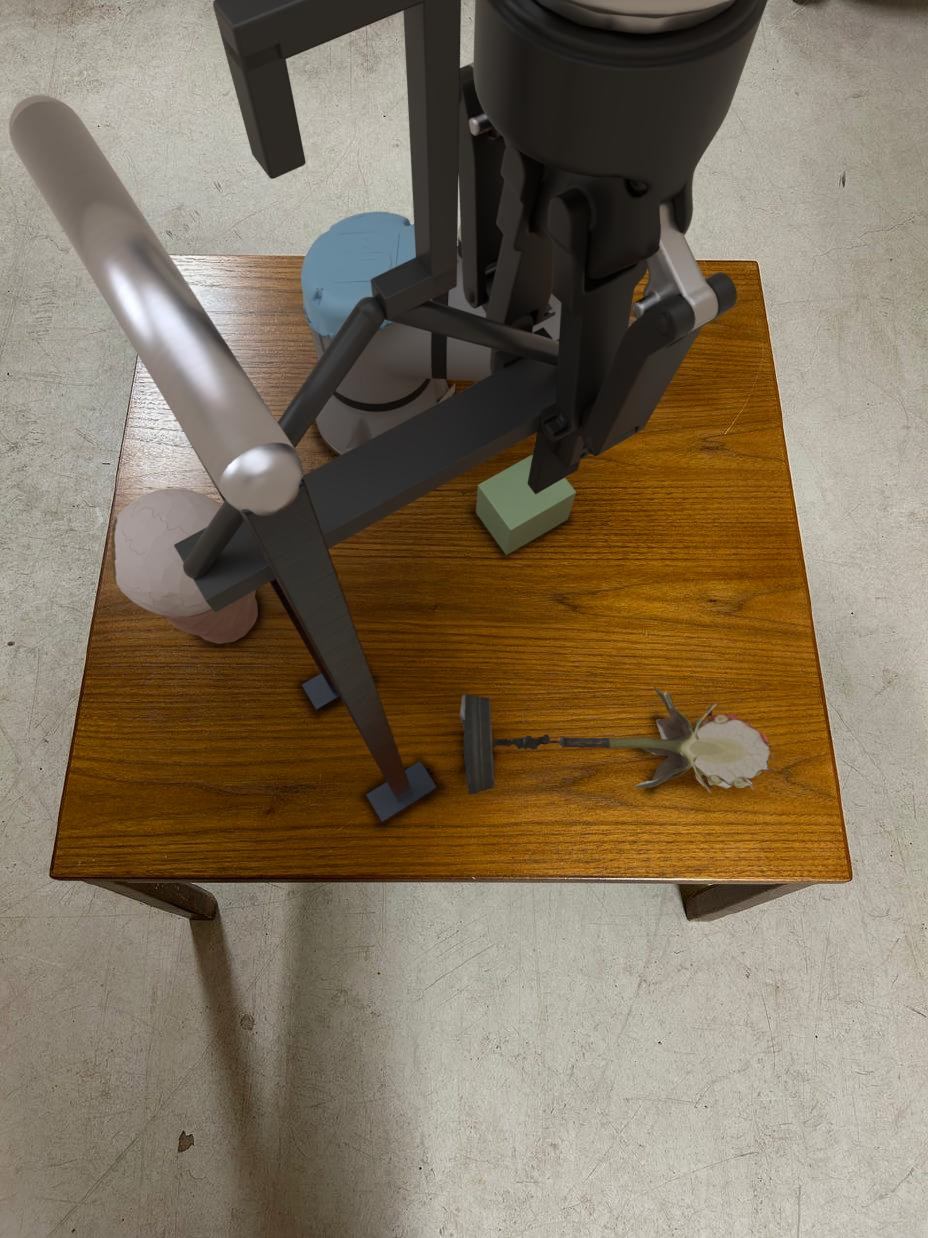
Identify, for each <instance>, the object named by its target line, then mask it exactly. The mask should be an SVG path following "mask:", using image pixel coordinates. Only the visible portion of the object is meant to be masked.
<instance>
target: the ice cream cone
mask: <svg viewBox="0 0 928 1238" xmlns="http://www.w3.org/2000/svg"><path fill="white" fill-rule="evenodd" d="M221 506H222V504H221V503H219V502H218V501H217V500H216V499H214V498H212V497H210V496H208V495H207V494H205V493H202V492H199V491H196V490H192V489H189V488H187V489H186V488H162V489H157V490H154V491H151V492H147V493H146V494H145V493H144V494H143V495H140V496H139V497H138V498H136V499H135V500H133V501H131V502H130V503H129V504H128V505H127V506H125V507H124V508H123V509H122V510H121V511H119V512H118V514H117V515H116V517H115V520H114V522H113V524H112V527H111V533H112V535H111V540H110V542H111V543H110V546H111V552H110V553H111V563H110V565H111V567H112V577H113V580H114V582H115V584H116V586H117V587H118V589H119V590H120V591H121V593H122V594H124V595H125V596H126V597H127V598H128V599H129V600H130V601H131V602H133V603H134V604H135V605H137V606H139V607H141V608H142V609H144V610H146V611H149V612H151V613H153V614H155V615H158V616H162V617H164V618H165V619H166V620H167V621H168V623H169V624H171V626H174V628H176V629H178V630H180V631H182V632H184V633H187V634H189V635H193V636H198V637H200V638H202V640H205V641H207V642H211V643H214V644H218V645H221V644H228V643H234V642H236V641H238V640H239V639H242V638H244V637H245V636H246V635H247V634H248V632H249V631H250V630H251V629H252V628H253V627H254V626H255V624H256V621H257V619H258V616H259V613H258V602H257V599H256V595H257V590H255V591H253V592H251V593H249V594H248V595H246V596H244V597H242V598H240V599H239V600H237V601H235V602H233V603H232V604H230V605H228V606H226V607H224V608H223V609H221V610H219V611H217V612H214V610H213V609H212V608H211V607H210V606H209V604H208V603H207V602H206V601H205V599H204V597H203V596H202V594H201V592H200V590H199V589H198V587H197V585H196V583H195V582H194V580H193V579H192V578H190V577H188V576H187V575H186V574H185V572H184V570H183V561H182V559H181V557H180V556H179V554H178V552H177V550H176V549H175V547H174V544H176V543H178V542H180V541H182V540H184V539H186V538H187V537H189V536H191V535H193V534H195V533H197V532H199V531H201V530H202V529H204V528H206V527H207V526H208V525H209V523H210V522H211V520H212V519H213V518H214V516H215V515H216V513H217V512H218V510H219V509H220V507H221Z"/></svg>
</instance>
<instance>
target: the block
mask: <svg viewBox="0 0 928 1238" xmlns="http://www.w3.org/2000/svg"><path fill="white" fill-rule="evenodd" d="M532 457H533V454H531V455H529V456H527V457H525V458H524V459H522V460H519V461H518V462H516V463H515V464H512V465H511V466H509V467H507V468H506V469H504V470H502V471H500V472H498V473H497V474H495V475H493V476H491V477H490V478H487V479H486V480H483V481H482V482H481V483H479V484H478V485H477V490H476V491H477V492H476V504H475V513H476V515H477V517H478V518H479V519H480V521H481V522H482V524H483V525H484V526H485V528H486V529H487V531H488V532H489V533H490V535H491V536H492V537H493V539H494V540H495V542H496V543H497V544H498V546H499V547H500V549H501V550H502V552H503V553H504V554H505V555H506V556H509V554H511V553H513V552H515V551H517V550H518V549H520V548H521V547H523V546H525V545H526V544H529V543H530V542H532V541H533V540H536V539H537V538H539V537H540V536H542V535H544V534H546V533H548V532H549V531H550V530H553V529H554V528H555V527H557V526H560V525H561V524H562V523H564V522H566V521H568V520H569V517H570V514H571V510H572V507H573V504H574V501H575V497H576V495H577V492H576V490H575V489H574V487H573V486H572V485H571V484H570V482H569V481H568V480H567V477H565V478H563V479H562V480H560V481H558V482H556V483H555V484H553V485H551V486H549V487H548V488H546V489H544V490H543V491H541V492H539V493H537V494H536V495H535V493H534V492H533V491H532V489H531V488H530V487H529V485H528V484H527V483H528V478H529V473H530V467H531V462H532Z"/></svg>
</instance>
